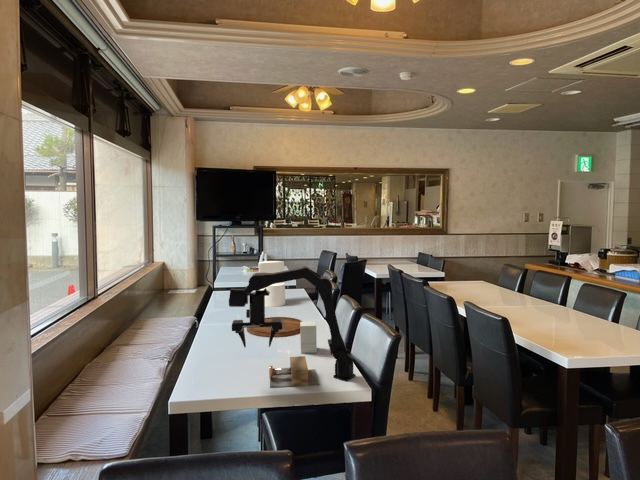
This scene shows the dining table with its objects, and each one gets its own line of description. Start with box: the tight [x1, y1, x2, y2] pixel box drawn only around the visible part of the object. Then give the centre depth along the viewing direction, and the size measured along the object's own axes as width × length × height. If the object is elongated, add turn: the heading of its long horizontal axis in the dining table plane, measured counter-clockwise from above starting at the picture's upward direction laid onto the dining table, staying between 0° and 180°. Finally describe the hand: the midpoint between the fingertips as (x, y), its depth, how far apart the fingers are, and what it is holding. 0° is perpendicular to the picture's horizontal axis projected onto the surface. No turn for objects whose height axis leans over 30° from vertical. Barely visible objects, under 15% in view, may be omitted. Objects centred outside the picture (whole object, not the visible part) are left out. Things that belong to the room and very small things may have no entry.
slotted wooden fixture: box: [269, 355, 320, 389], centre depth 161 cm, size 18×14×6 cm
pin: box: [268, 365, 291, 379], centre depth 160 cm, size 10×5×5 cm, turn 97°
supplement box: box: [299, 321, 318, 354], centre depth 192 cm, size 7×7×13 cm
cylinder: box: [258, 260, 286, 308], centre depth 281 cm, size 17×17×28 cm
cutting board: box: [246, 316, 304, 338], centre depth 227 cm, size 32×32×2 cm
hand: (257, 346), depth 160 cm, fingers open, 9 cm apart
